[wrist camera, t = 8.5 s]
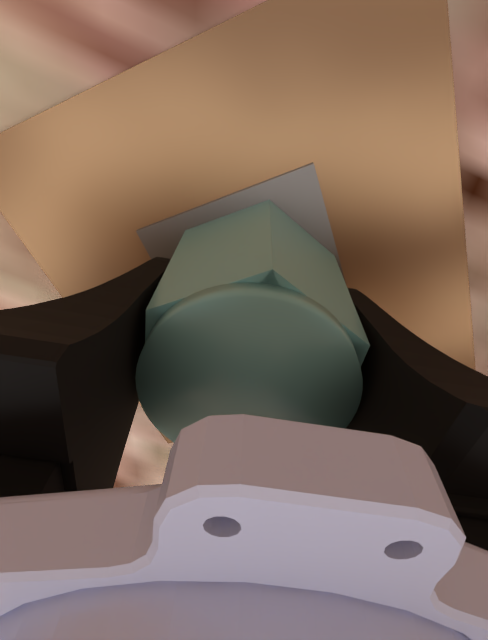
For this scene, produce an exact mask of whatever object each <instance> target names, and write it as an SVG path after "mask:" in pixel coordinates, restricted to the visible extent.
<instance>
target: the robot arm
mask: <svg viewBox="0 0 488 640" xmlns="http://www.w3.org/2000/svg"><path fill="white" fill-rule="evenodd" d="M170 260H171V259H168V258H162V257H155V258H153V259H151V260H149V261H147V262H145V263H143V264H141V265H140V266H138V267H136V268H134V269H132V270H130V271H128V272H126V273H124V274H123V275H121V276H118V277H116V278H114V279H112V280H110V281H107V282H105V283H103V284H101V285H99V286H96V287H94V288H91V289H88V290H86V291H83V292H80V293H77V294H74V295H70V296H67V297H64V298H60V299H55V300H51V301H47V302H43V303H38V304H34V305H29V306H23V307H18V308H12V309H4V310H0V640H488V376H485V375H483V374H481V373H479V372H477V371H475V370H474V369H472V368H470V367H468V366H466V365H464V364H462V363H460V362H458V361H456V360H454V359H453V358H451V357H449V356H448V355H446V354H444V353H443V352H441V351H439V350H438V349H436V348H434V347H433V346H431V345H430V344H428V343H427V342H425V341H424V340H422V339H421V338H419V337H418V336H416V335H415V334H414V333H412V332H411V331H410V330H408V329H407V328H405V327H404V326H403V325H402V324H400V323H399V322H398V321H396V320H395V319H394V318H393V317H391V316H390V315H389V314H388V313H387V312H385V311H384V310H383V309H382V308H380V307H379V306H378V305H377V304H376V303H374V302H373V301H372V300H371V299H369V298H368V297H367V296H366V295H364V294H363V293H362V292H360V291H358V290H357V289H352V288H348V291H349V293H350V296H351V298H352V301H353V304H354V306H355V309H356V311H357V314H358V316H359V319H360V321H361V324H362V326H363V329H364V331H365V334H366V337H367V339H368V342H369V344H370V347H369V349H368V351H367V354H366V356H365V358H364V361H363V363H362V365H361V372H362V377H363V391H362V396H361V401H360V404H359V407H358V409H357V412H356V414H355V415H354V417H353V419H352V421H351V422H350V423H349V425H348V426H347V427H346V428H345V429H344V428H337V427H330V426H323V425H316V424H309V423H302V422H295V421H288V420H281V419H274V418H267V417H261V416H254V415H247V414H232V415H211V416H207V417H205V418H203V419H201V420H199V421H197V422H195V423H193V424H191V425H189V426H187V427H185V428H183V429H181V431H180V433H179V435H178V437H177V439H176V440H175V442H174V444H173V446H172V448H171V450H170V454H169V458H168V462H167V466H166V470H165V475H164V479H163V483H162V484H157V485H145V486H133V487H121V488H113V486H114V482H115V479H116V475H117V472H118V468H119V465H120V461H121V458H122V455H123V451H124V448H125V444H126V441H127V438H128V434H129V431H130V428H131V425H132V422H133V418H134V415H135V412H136V409H137V406H138V403H139V398H138V394H137V390H136V380H135V377H136V367H137V363H138V360H139V356H140V354H141V351H142V349H143V347H144V345H145V324H146V308H147V306H148V304H149V302H150V300H151V298H152V296H153V294H154V292H155V290H156V288H157V286H158V284H159V282H160V280H161V278H162V276H163V274H164V272H165V270H166V268H167V266H168V264H169V262H170Z"/></svg>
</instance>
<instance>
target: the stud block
mask: <svg viewBox="0 0 488 640" xmlns="http://www.w3.org/2000/svg"><path fill="white" fill-rule="evenodd" d="M269 199H270V201H272V202H273V203H274V204H275V205H276V206H277V207H279V208H280V209H281V210H282V211H283V212H284V213H285V214H287V215H288V216H289V217H290V218H291V219H292V220H294V221H295V222H296V223H297V224H298V225H299V226H301V227H302V228H303V229H304V230H305V231H306V232H308V233H309V234H310V235H311V236H312V237H313V238H315V239H316V240H317V241H318V242H319V243H320V244H321V245H323V246H324V247H325V248H326V249H327V250H328V251H330V252H331V253H332V254H333V255H334V256H335V258H336V260H337V263H338V266H339V268H340V271H341V273H342V276H343V278H344V281H345V283H346V286H347V288H352V289H357V290H358V291H360V292H362V293H363V294H364V295H366V296H367V297H368V298H369V299H371V300H372V301H373V302H374V303H376V304H377V305H378V306H379V307H380V308H382V309H383V310H384V311H385V312H387V313H388V314H389V315H390V316H391V317H393V318H394V319H395V320H396V321H398V322H399V323H400V324H402V325H403V326H404V327H405V328H407V329H408V330H410V331H411V332H412V333H414V334H415V335H416V336H418V337H419V338H421V339H422V340H424V341H425V342H427V343H428V344H430V345H431V346H433V347H434V348H436V349H438V350H439V351H441V352H443V353H444V354H446V355H448V356H449V357H451V358H453V359H454V360H456V361H458V362H460V363H462V364H464V365H466V366H468V367H470V368H472V369H474V370H475V357H474V344H473V331H472V318H471V304H470V291H469V278H468V265H467V252H466V239H465V226H464V213H463V200H462V187H461V173H460V160H459V147H458V134H457V121H456V108H455V95H454V82H453V69H452V56H451V42H450V29H449V16H448V3H447V0H267V1H265V2H263V3H261V4H259V5H257V6H255V7H253V8H251V9H249V10H247V11H245V12H243V13H241V14H239V15H237V16H235V17H233V18H231V19H229V20H227V21H225V22H223V23H221V24H219V25H217V26H215V27H213V28H211V29H209V30H207V31H205V32H203V33H201V34H199V35H197V36H195V37H193V38H191V39H189V40H187V41H185V42H183V43H181V44H179V45H177V46H175V47H173V48H171V49H169V50H167V51H164V52H162V53H160V54H158V55H156V56H154V57H152V58H150V59H148V60H146V61H144V62H142V63H140V64H138V65H136V66H134V67H132V68H130V69H128V70H126V71H124V72H122V73H120V74H118V75H116V76H114V77H112V78H110V79H108V80H106V81H104V82H102V83H100V84H98V85H96V86H94V87H92V88H90V89H88V90H86V91H84V92H82V93H80V94H78V95H76V96H74V97H72V98H70V99H68V100H66V101H64V102H62V103H60V104H58V105H56V106H54V107H52V108H50V109H48V110H46V111H44V112H42V113H40V114H38V115H36V116H34V117H32V118H29V119H27V120H25V121H23V122H21V123H19V124H17V125H15V126H13V127H11V128H9V129H7V130H5V131H3V132H1V133H0V212H1V213H2V215H3V216H4V217H5V219H6V220H7V221H8V223H9V224H10V226H11V227H12V228H13V230H14V231H15V233H16V234H17V235H18V237H19V238H20V239H21V241H22V242H23V244H24V245H25V246H26V248H27V249H28V251H29V252H30V253H31V255H32V256H33V257H34V259H35V260H36V262H37V263H38V264H39V266H40V267H41V268H42V270H43V271H44V273H45V274H46V275H47V277H48V278H49V280H50V281H51V282H52V284H53V285H54V286H55V288H56V289H57V291H58V292H59V293H60V295H61V296H62V297H63V298H64V297H67V296H70V295H74V294H77V293H80V292H83V291H86V290H88V289H91V288H94V287H96V286H99V285H101V284H103V283H105V282H107V281H110V280H112V279H114V278H116V277H118V276H121V275H123V274H124V273H126V272H128V271H130V270H132V269H134V268H136V267H138V266H140V265H141V264H143V263H145V262H147V261H149V260H151V259H153V258H155V257H162V258H168V259H171V258H172V256H173V254H174V252H175V250H176V248H177V246H178V244H179V242H180V240H181V238H182V236H183V234H184V232H185V230H188V229H190V228H193V227H196V226H199V225H201V224H204V223H207V222H209V221H212V220H215V219H218V218H220V217H223V216H226V215H229V214H231V213H234V212H237V211H239V210H242V209H245V208H248V207H250V206H253V205H256V204H259V203H261V202H264V201H267V200H269ZM475 371H476V370H475ZM139 404H140V405H141V403H140V401H139ZM141 407H142V406H141ZM159 432H160V431H159ZM160 433H161V432H160ZM161 434H162V433H161ZM162 436H163V437H164V438H165V440H166V441H167V443H172V441H171V440H170V439H168V438H167V437H166V436H164V435H163V434H162Z"/></svg>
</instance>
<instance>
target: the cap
mask: <svg viewBox="0 0 488 640" xmlns="http://www.w3.org/2000/svg"><path fill="white" fill-rule="evenodd" d="M369 347H370V344H369V342H368V339H367V337H366V334H365V331H364V329H363V326H362V324H361V321H360V319H359V316H358V314H357V311H356V309H355V306H354V304H353V301H352V298H351V296H350V293H349V291H348V288H347V286H346V283H345V281H344V278H343V276H342V273H341V271H340V268H339V266H338V263H337V260H336V258H335V256H334V255H333V254H332V253H331V252H330V251H328V250H327V249H326V248H325V247H324V246H323V245H321V244H320V243H319V242H318V241H317V240H316V239H315V238H313V237H312V236H311V235H310V234H309V233H308V232H306V231H305V230H304V229H303V228H302V227H301V226H299V225H298V224H297V223H296V222H295V221H294V220H292V219H291V218H290V217H289V216H288V215H287V214H285V213H284V212H283V211H282V210H281V209H280V208H279V207H277V206H276V205H275V204H274V203H273V202H272V201H270V199H269V200H267V201H264V202H261V203H259V204H256V205H253V206H250V207H248V208H245V209H242V210H239V211H237V212H234V213H231V214H229V215H226V216H223V217H220V218H218V219H215V220H212V221H209V222H207V223H204V224H201V225H199V226H196V227H193V228H190V229H188V230H185V232H184V234H183V236H182V238H181V240H180V242H179V244H178V246H177V248H176V250H175V252H174V254H173V256H172V258H171V260H170V262H169V264H168V266H167V268H166V270H165V272H164V274H163V276H162V278H161V280H160V282H159V284H158V286H157V288H156V290H155V292H154V294H153V296H152V298H151V300H150V302H149V304H148V306H147V308H146V324H145V345H144V347H143V349H142V351H141V354H140V356H139V360H138V363H137V367H136V377H135V380H136V390H137V394H138V398H139V401H140V403H141V406H142V408H143V410H144V412H145V413H146V415H147V416H148V418H149V420H150V421H151V422H152V423H153V424H154V426H155V427H156V428H157V429H158V430H159V431H160V432H161V433H162V434H163V435H164V436H166V437H167V438H168V439H170V440H171V441H172V442H175V440H176V439H177V437H178V435H179V433H180V431H181V429H183V428H185V427H187V426H189V425H191V424H193V423H195V422H197V421H199V420H201V419H203V418H205V417H207V416H211V415H232V414H247V415H254V416H261V417H267V418H274V419H281V420H288V421H295V422H302V423H309V424H316V425H323V426H330V427H337V428H344V429H345V428H346V427H347V426H348V425H349V423H350V422H351V421H352V419H353V417H354V415H355V414H356V412H357V409H358V407H359V404H360V401H361V396H362V391H363V377H362V372H361V365H362V363H363V361H364V358H365V356H366V354H367V351H368V349H369Z"/></svg>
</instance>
